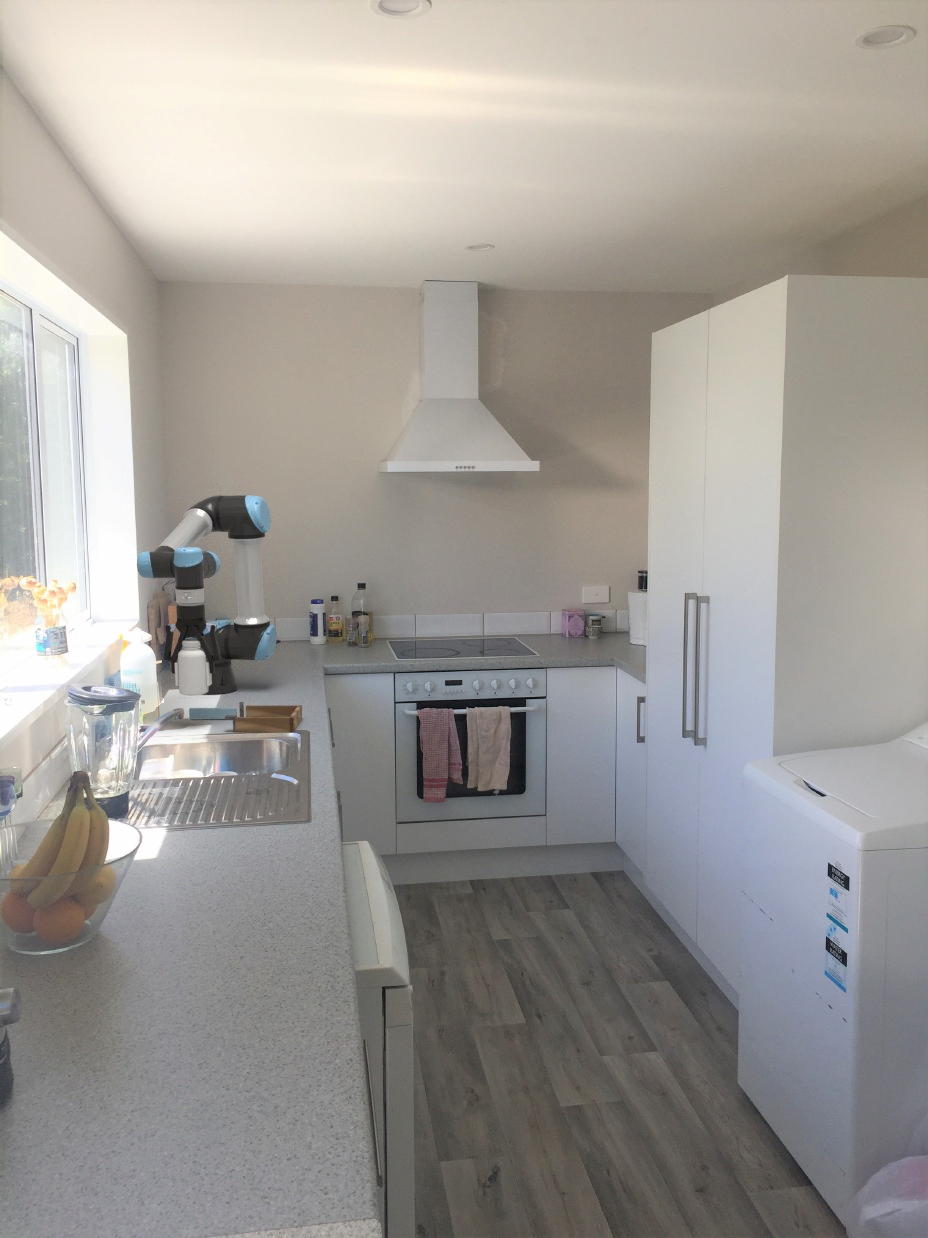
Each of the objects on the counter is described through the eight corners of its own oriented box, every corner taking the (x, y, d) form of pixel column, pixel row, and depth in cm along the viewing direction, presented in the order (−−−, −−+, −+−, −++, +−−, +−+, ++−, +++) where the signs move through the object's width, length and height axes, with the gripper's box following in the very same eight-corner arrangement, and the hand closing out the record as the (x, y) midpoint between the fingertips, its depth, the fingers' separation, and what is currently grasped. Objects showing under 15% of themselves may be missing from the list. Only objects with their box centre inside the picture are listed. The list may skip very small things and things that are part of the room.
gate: (237, 718, 277) (236, 707, 277) (236, 718, 276) (236, 708, 276) (190, 718, 277) (190, 707, 276) (189, 718, 276) (189, 708, 276)
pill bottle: (197, 697, 261) (194, 643, 259) (173, 694, 264) (170, 641, 262) (214, 691, 269) (212, 638, 266) (191, 688, 272) (189, 636, 269)
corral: (237, 718, 277) (237, 702, 277) (302, 718, 278) (301, 701, 277) (225, 732, 261) (224, 714, 261) (293, 732, 262) (292, 714, 261)
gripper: (148, 605, 259) (152, 688, 262) (225, 605, 259) (228, 687, 263) (156, 602, 266) (160, 682, 270) (231, 602, 267) (234, 681, 270)
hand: (193, 684), depth 266 cm, fingers closed on pill bottle, 8 cm apart
